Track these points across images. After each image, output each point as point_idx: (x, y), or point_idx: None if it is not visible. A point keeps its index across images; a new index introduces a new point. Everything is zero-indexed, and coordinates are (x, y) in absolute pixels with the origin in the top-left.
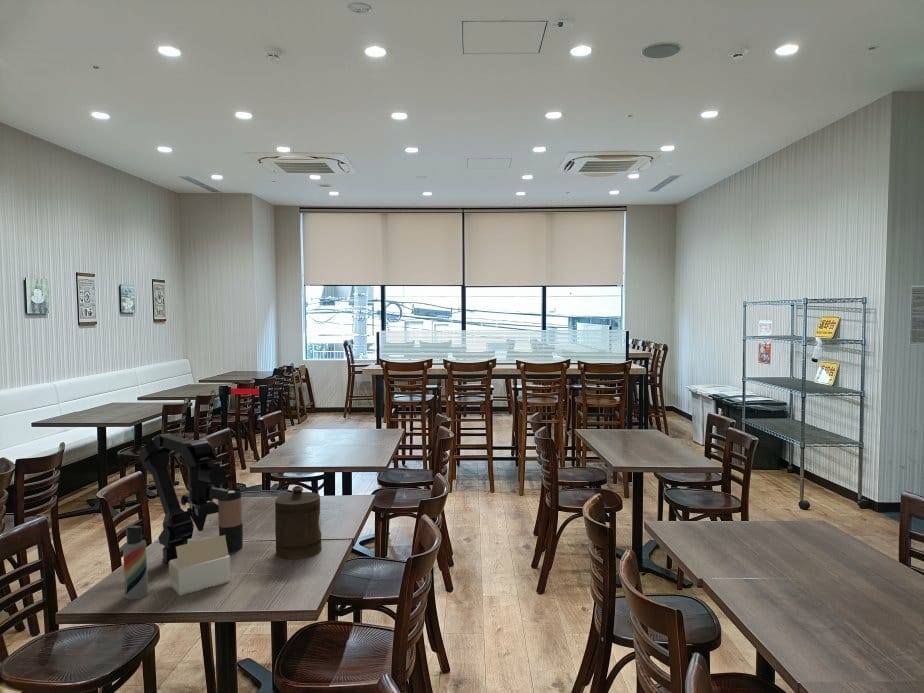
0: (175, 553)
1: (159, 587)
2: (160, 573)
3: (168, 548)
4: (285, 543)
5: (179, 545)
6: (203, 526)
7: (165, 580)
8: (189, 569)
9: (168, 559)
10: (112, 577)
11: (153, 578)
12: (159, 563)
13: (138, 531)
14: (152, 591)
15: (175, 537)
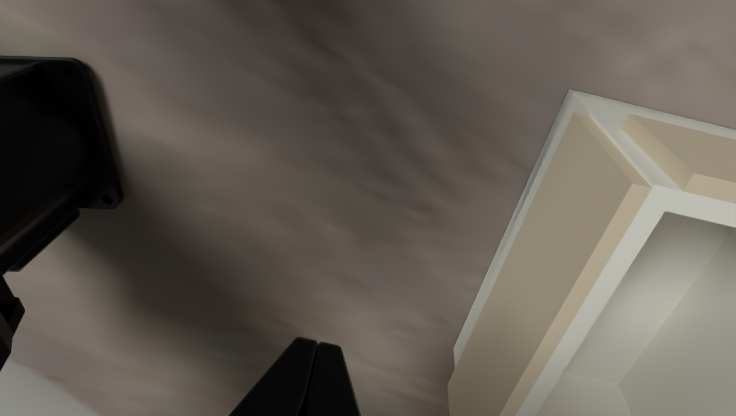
0: (55, 202)
1: (413, 377)
2: (218, 293)
3: (9, 266)
4: None
5: (12, 207)
6: (356, 409)
7: (348, 326)
8: None
9: (68, 218)
10: (94, 410)
11: (263, 340)
12: None
13: None
14: (429, 408)
15: (6, 333)
